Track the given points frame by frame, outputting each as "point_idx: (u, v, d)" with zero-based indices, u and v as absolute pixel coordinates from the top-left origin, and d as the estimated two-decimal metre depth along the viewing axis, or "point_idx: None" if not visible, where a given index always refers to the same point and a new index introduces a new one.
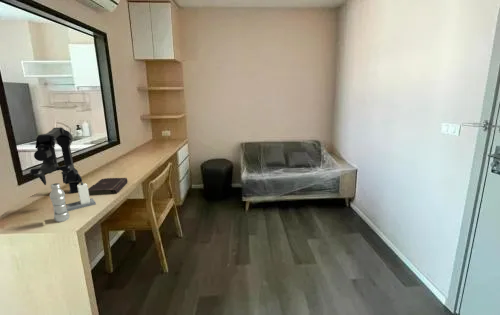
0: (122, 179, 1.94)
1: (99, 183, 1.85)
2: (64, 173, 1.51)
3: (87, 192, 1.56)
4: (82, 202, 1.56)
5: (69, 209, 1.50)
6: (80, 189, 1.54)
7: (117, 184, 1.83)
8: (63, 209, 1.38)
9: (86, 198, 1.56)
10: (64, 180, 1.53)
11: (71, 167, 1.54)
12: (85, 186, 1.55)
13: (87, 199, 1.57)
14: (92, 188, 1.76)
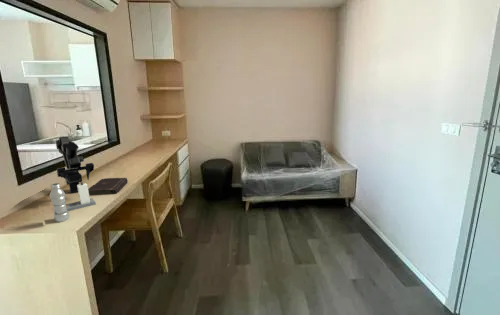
0: (122, 179, 1.94)
1: (99, 183, 1.85)
2: (89, 168, 1.66)
3: (87, 192, 1.56)
4: (82, 202, 1.56)
5: (69, 209, 1.50)
6: (80, 189, 1.54)
7: (117, 184, 1.83)
8: (63, 209, 1.38)
9: (86, 198, 1.56)
10: (88, 176, 1.64)
11: None
12: (85, 186, 1.55)
13: (87, 199, 1.57)
14: (92, 188, 1.76)
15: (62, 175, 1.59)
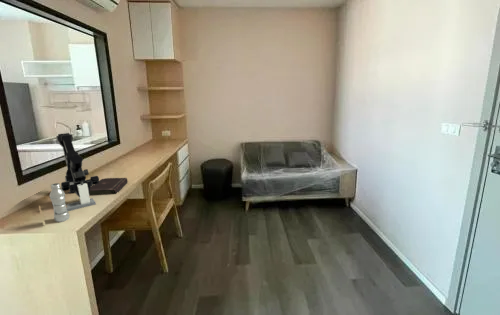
0: (122, 179, 1.94)
1: (99, 183, 1.85)
2: (89, 182, 1.59)
3: (87, 192, 1.56)
4: (82, 202, 1.56)
5: (69, 209, 1.50)
6: (80, 189, 1.54)
7: (117, 184, 1.83)
8: (63, 209, 1.38)
9: (86, 198, 1.56)
10: (89, 190, 1.58)
11: None
12: (85, 186, 1.55)
13: (87, 199, 1.57)
14: (92, 188, 1.76)
15: (71, 188, 1.56)
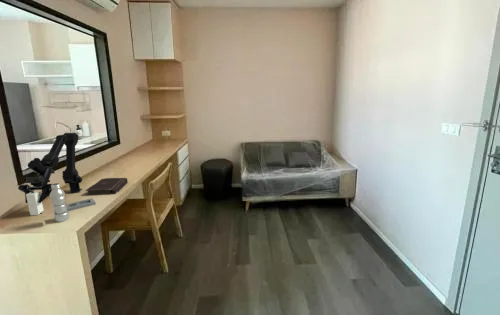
0: (122, 179, 1.94)
1: (99, 183, 1.86)
2: (44, 190, 1.48)
3: (35, 202, 1.46)
4: (30, 211, 1.47)
5: (69, 209, 1.50)
6: (28, 197, 1.46)
7: (116, 184, 1.83)
8: (63, 209, 1.38)
9: (34, 208, 1.47)
10: (40, 199, 1.47)
11: None
12: (32, 195, 1.45)
13: (35, 209, 1.47)
14: (91, 188, 1.76)
15: None
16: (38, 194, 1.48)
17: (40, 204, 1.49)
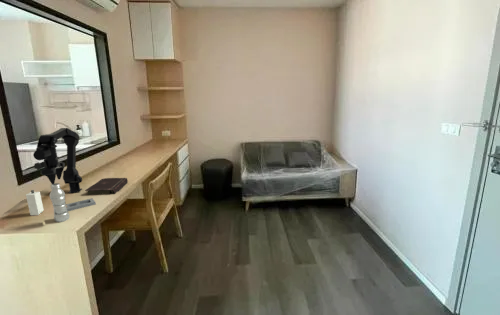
0: (122, 179, 1.94)
1: (99, 183, 1.86)
2: None
3: (34, 202, 1.46)
4: (30, 211, 1.47)
5: (69, 209, 1.50)
6: (28, 197, 1.46)
7: (116, 184, 1.83)
8: (63, 209, 1.38)
9: (34, 208, 1.47)
10: (50, 181, 1.57)
11: (47, 172, 1.52)
12: (32, 195, 1.45)
13: (35, 209, 1.47)
14: (91, 188, 1.76)
15: None
16: (38, 194, 1.48)
17: (40, 204, 1.49)
